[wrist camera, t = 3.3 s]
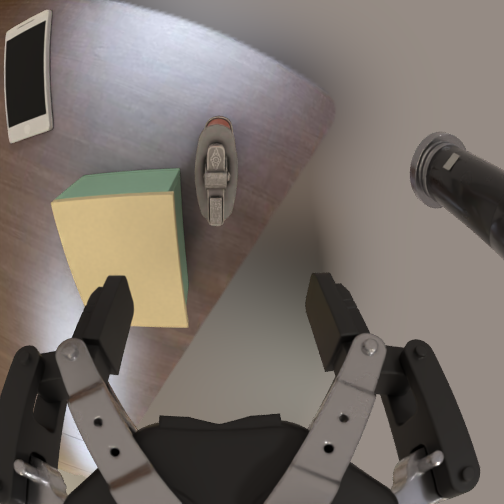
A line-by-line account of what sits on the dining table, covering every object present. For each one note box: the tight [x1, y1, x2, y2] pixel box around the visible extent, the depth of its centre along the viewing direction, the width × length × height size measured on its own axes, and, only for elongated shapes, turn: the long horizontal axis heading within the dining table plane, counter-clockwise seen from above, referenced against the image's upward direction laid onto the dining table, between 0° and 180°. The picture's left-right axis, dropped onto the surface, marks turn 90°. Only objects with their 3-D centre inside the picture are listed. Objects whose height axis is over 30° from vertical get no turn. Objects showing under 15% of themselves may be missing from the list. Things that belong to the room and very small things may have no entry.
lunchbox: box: [55, 168, 189, 303], centre depth 28 cm, size 12×16×7 cm
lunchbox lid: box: [51, 191, 188, 328], centre depth 25 cm, size 12×16×1 cm
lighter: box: [195, 116, 238, 226], centre depth 23 cm, size 8×3×10 cm, turn 178°
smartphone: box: [4, 10, 53, 143], centre depth 18 cm, size 7×16×1 cm, turn 0°
